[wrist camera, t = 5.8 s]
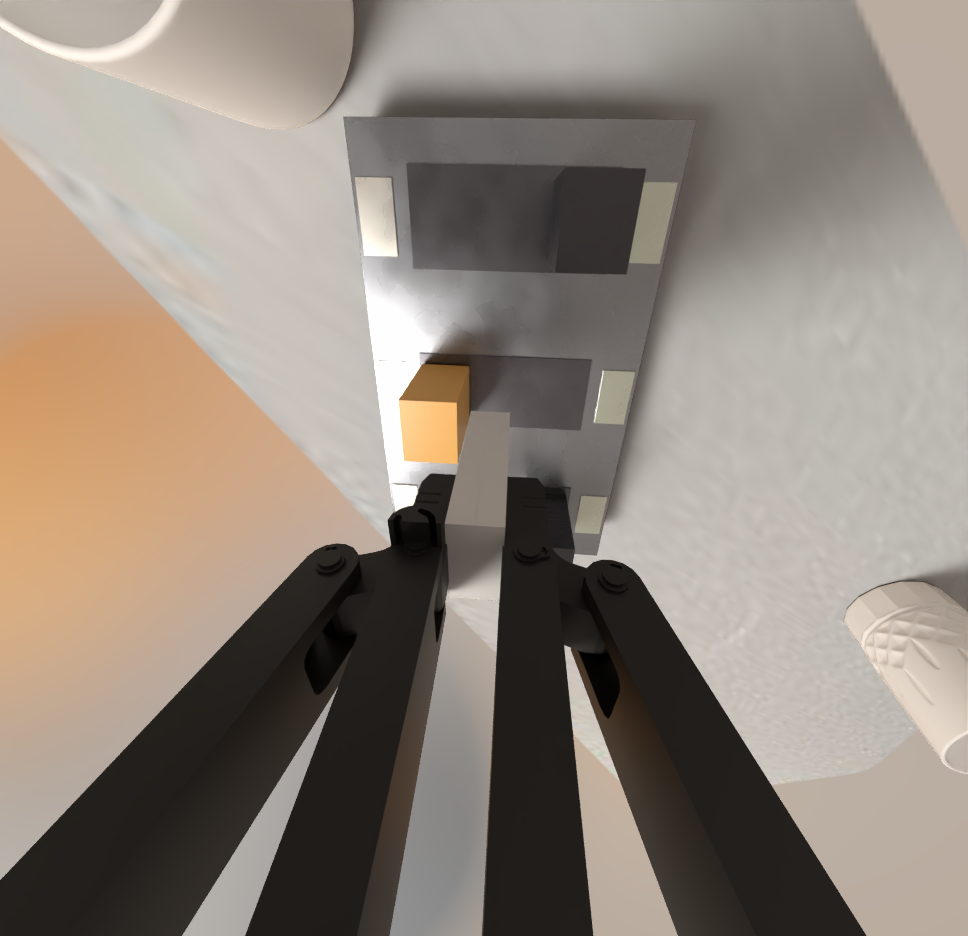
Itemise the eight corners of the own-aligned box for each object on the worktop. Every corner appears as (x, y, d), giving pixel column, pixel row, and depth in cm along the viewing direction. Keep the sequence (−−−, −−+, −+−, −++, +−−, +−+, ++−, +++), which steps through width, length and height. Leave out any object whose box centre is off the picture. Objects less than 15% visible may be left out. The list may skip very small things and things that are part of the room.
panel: (367, 130, 19) (280, 79, 12) (671, 133, 18) (762, 81, 11) (407, 515, 31) (375, 598, 24) (590, 527, 30) (610, 616, 23)
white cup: (819, 638, 35) (916, 773, 26) (858, 573, 31) (988, 708, 22) (920, 641, 34) (1053, 780, 25) (973, 574, 30) (1153, 715, 21)
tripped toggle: (422, 364, 21) (397, 400, 17) (469, 366, 21) (456, 402, 17) (425, 416, 23) (403, 461, 18) (469, 418, 23) (457, 464, 18)
